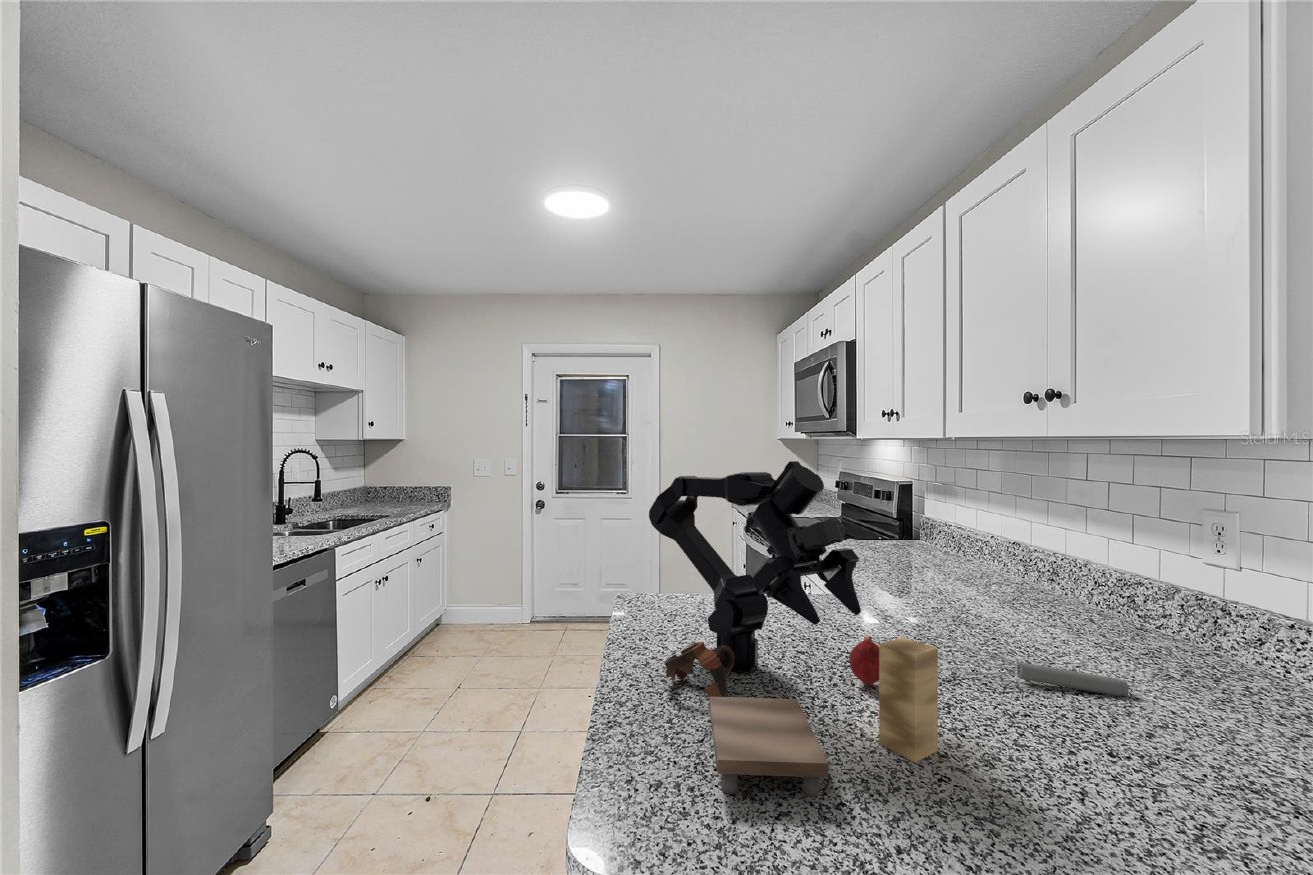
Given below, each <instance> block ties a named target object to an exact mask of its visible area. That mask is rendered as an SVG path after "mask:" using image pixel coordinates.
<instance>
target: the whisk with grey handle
mask: <svg viewBox="0 0 1313 875" xmlns="http://www.w3.org/2000/svg"><path fill="white" fill-rule="evenodd" d="M926 637H927V638H929V637H930V638H931V637H932V638H933V637H935V638H942V639H947V640H951V641H955V642H959V643H961V644H962V645H961V644H958V643H955V642H950V641H945V640H944V641H943V640H939V639H937V640H936V639H926V640H925V639H924V640H919V639H922V638H926ZM917 640H919V641H918V642H919V643H922V644H932V642H933V644H935V645H941V646H946V647H951V648H954V649H959V650H962V651H966V652H970V653H973V654H976V655H978V656H979V655H980V656H984V657H985V658H989V659H993V660H996V661H997V662H1001V663H1005V664H1007V665H1010V666H1005V665H1001V664H995V663H991V662H986V661H981V660H977V659H970V658H965V657H960V656H955V655H950V654H944V653H939V652H938V655H940V656H947V657H950V658H951V657H952V658H957V659H961V660H967V661H972V662H967V661H961V660H956V659H950V658H943V657H939V656H938V659H941V660H945V661H946V660H947V661H953V662H958V663H964V664H969V665H970V664H972V665H978V666H985V667H991V668H996V669H997V668H998V669H1003V670H1009V671H1010V670H1011V671H1016V672H992V673H991V672H976V673H975V672H972V671H971V672H969V671H960V670H953V669H945V668H940V667H938V670H942V671H946V672H955V673H962V674H964V675H969V674H972V675H975V676H976V675H979V676H980V675H981V676H987V675H990V676H989V677H985V679H996V678H1007V677H1008V678H1009V677H1013V676H1017V677H1018V679H1020V680H1024V681H1025V680H1026V681H1030V682H1036V683H1041V684H1048V685H1054V686H1060V687H1064V688H1070V689H1074V690H1075V689H1076V690H1081V691H1087V692H1092V693H1098V694H1102V695H1109V696H1114V697H1115V696H1116V697H1121V696H1122V697H1128V695H1129V692H1130V690H1129V689H1130V688H1129V685H1128V683H1129V684H1131V685H1134V686H1136V687H1138V688H1139V689H1140V690H1141V691H1140V692H1139V693H1138V694H1132V695H1130V696H1133V697H1136V696H1140V695H1141V694H1142V693H1143V689H1142V687H1141V686H1140V685H1137V684H1135V683H1133V682H1130V681H1127V680H1126V681H1125V680H1121V679H1119V678H1117V677H1116V678H1115V677H1110V676H1104V675H1099V674H1092V673H1087V672H1083V671H1082V672H1081V671H1075V670H1069V669H1064V668H1057V667H1051V666H1045V665H1040V664H1034V663H1029V662H1023V661H1018V662H1017V663H1015V662H1013V661H1011V660H1008V659H1006V658H1005V657H1003V656H1000V655H998V654H995V653H994V652H991V651H988V650H986V649H982V648H980V647H979V646H975V645H972V644H970V643H966V642H964V641H961V640H957V639H953V638H949V637H944V636H939V635H938V636H937V635H924V636H919V637H917V638H916V639H915V640H914V641H916V642H917ZM937 642H940V643H937ZM941 642H942V643H941ZM943 643H947V644H943ZM949 644H953V645H956V646H960V647H956V646H953V645H949ZM963 644H964V645H963ZM967 645H968V646H967ZM969 646H970V647H969ZM961 647H963V648H964V649H963V648H961ZM973 647H974V648H973ZM975 648H977V649H975ZM968 649H970V650H968ZM978 649H979V650H978ZM971 650H973V651H971ZM974 651H975V652H974ZM976 651H977V652H976ZM978 652H979V653H978ZM981 653H982V654H981ZM985 654H986V655H985ZM993 657H994V658H993ZM975 662H977V663H975ZM981 663H982V664H981ZM983 663H984V664H983ZM987 664H988V665H987ZM1011 666H1012V667H1011ZM1014 667H1016V668H1014ZM991 675H993V676H991ZM994 675H995V676H994ZM998 675H999V676H998ZM1000 675H1001V676H1000ZM968 679H974V680H975V679H976V680H977V679H979V680H981V679H983V680H984V677H968Z"/></svg>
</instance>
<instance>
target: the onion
mask: <svg viewBox="0 0 1313 875" xmlns="http://www.w3.org/2000/svg"><path fill="white" fill-rule="evenodd" d="M848 662H849V666H850V669H851V671H852V673H853V675H854V676H855V678H856V679H858V680H859V681H860V682H861V683H863V685H864V686H866V687H867V686H872V685H873V684H876V683H877V682H878V681H879V645H878V644H876V643H875V642H873V637H872V636H871V635H869V634H867V635H865V637H864V639H863V641H861V642H859V643H857V644H856V645H855V646H854V647H853V648H852V650H851V651H850V654H849V660H848Z"/></svg>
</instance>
